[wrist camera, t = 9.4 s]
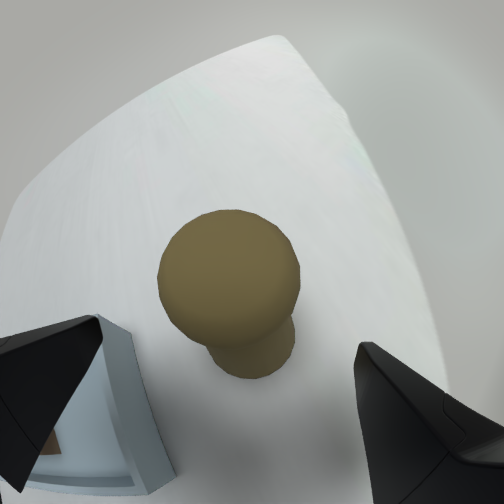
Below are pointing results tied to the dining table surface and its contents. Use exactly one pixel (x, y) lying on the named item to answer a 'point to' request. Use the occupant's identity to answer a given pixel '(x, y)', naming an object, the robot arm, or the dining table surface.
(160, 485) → the tote
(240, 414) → the dining table surface
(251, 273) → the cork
